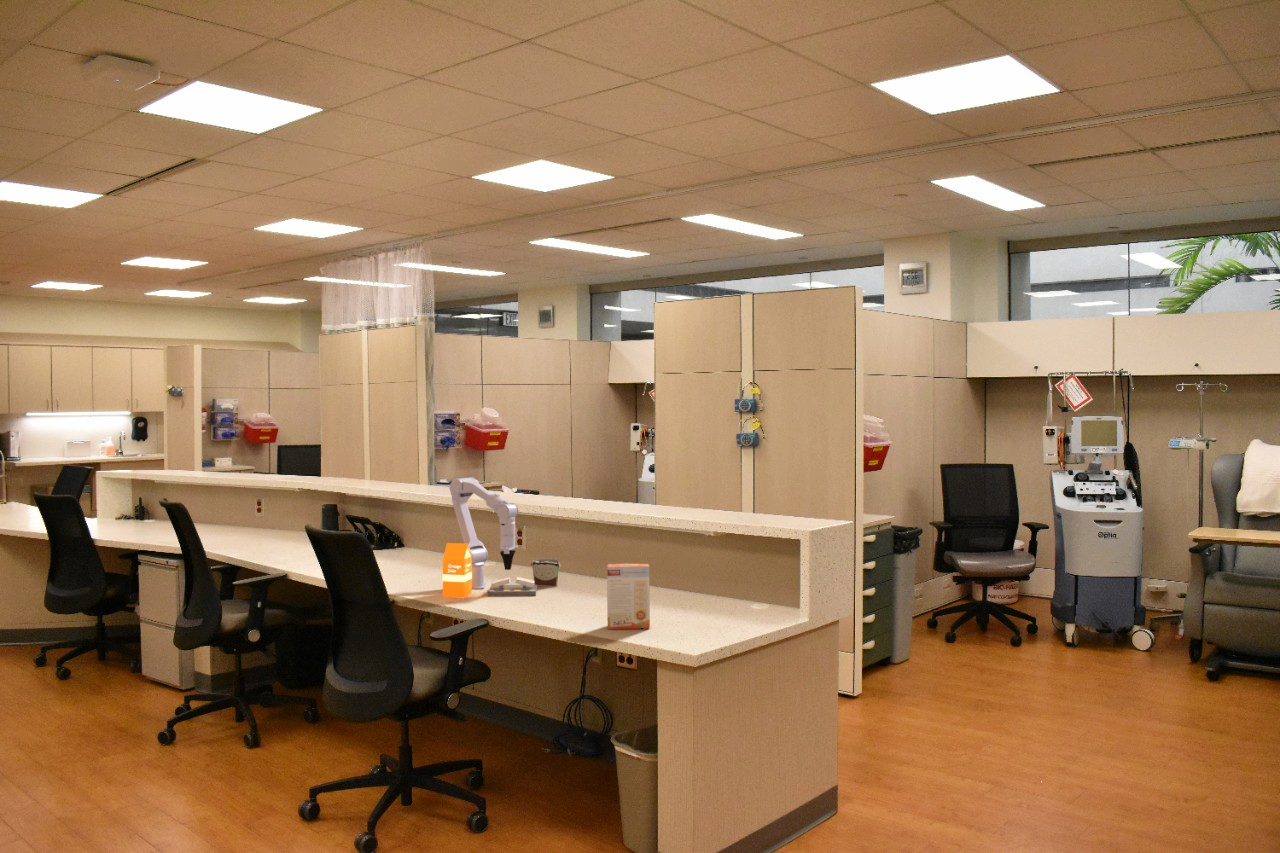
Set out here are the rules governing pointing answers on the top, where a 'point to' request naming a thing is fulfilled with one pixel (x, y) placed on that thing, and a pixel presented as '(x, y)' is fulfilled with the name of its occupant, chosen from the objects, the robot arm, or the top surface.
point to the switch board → (512, 590)
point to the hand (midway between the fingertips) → (507, 569)
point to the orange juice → (457, 570)
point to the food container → (545, 572)
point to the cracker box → (628, 596)
